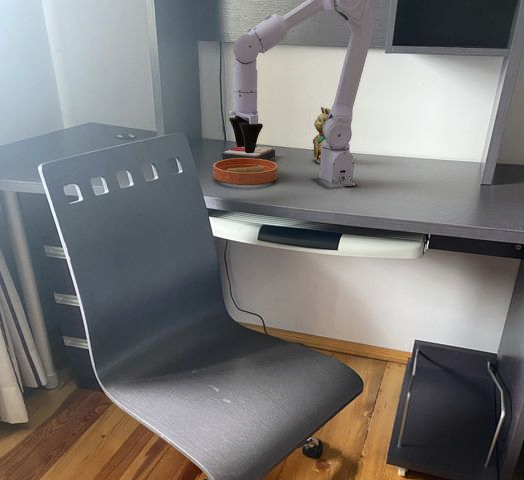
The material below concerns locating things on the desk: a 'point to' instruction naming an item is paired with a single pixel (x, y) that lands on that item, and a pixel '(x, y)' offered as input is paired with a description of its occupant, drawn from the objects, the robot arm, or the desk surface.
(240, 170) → the cylinder
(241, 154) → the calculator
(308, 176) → the desk surface
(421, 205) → the desk surface
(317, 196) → the desk surface
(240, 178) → the bowl
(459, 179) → the desk surface
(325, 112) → the decorative figurine
